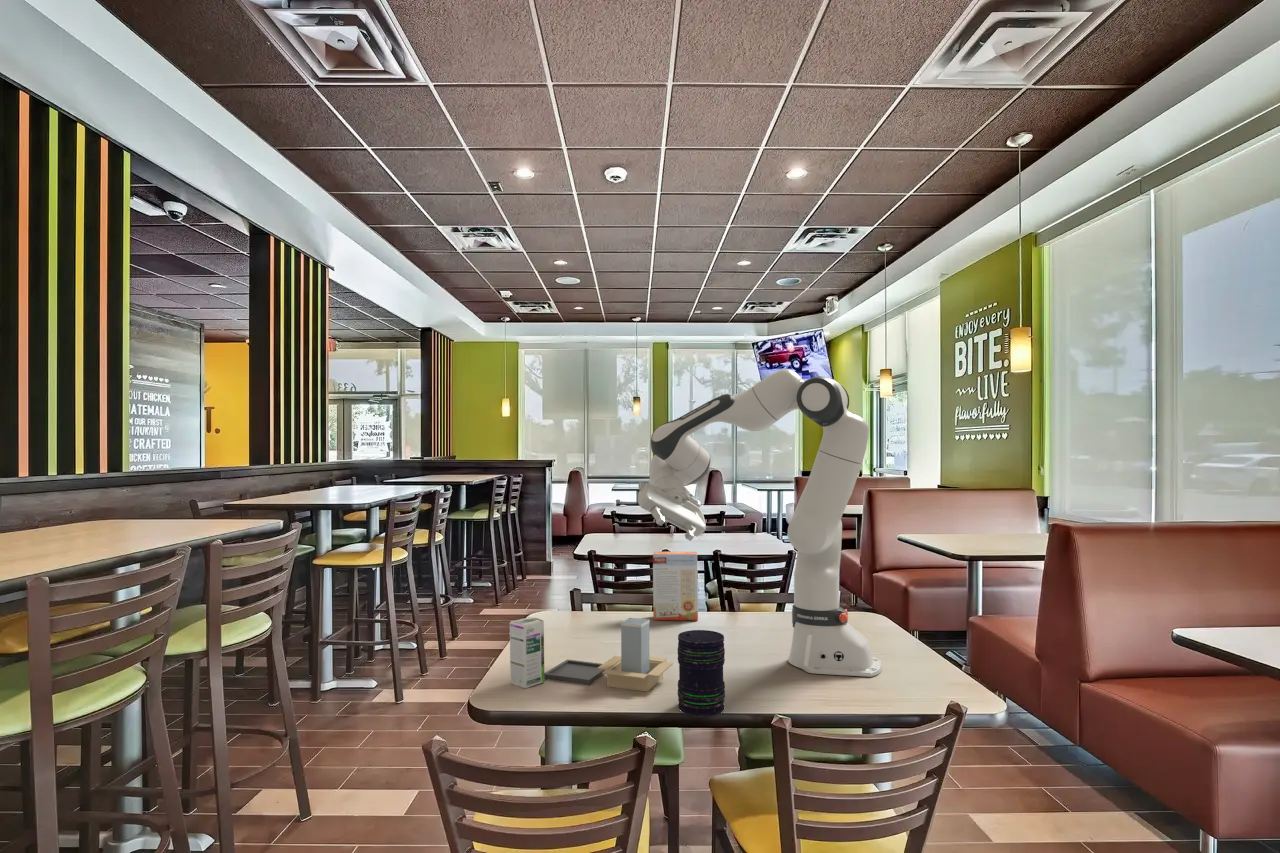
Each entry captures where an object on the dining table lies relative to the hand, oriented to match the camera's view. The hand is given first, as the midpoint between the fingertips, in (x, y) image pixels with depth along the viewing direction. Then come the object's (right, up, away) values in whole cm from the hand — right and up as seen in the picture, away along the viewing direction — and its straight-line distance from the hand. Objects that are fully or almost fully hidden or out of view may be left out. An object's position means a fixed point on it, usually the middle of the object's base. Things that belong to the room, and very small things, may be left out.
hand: (675, 530), depth 180 cm
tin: (-10, -33, -14) cm, 37 cm away
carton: (-10, -33, -14) cm, 37 cm away
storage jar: (+4, -33, -31) cm, 45 cm away
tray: (-24, -33, -9) cm, 42 cm away
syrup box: (-35, -33, -15) cm, 51 cm away
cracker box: (+2, -35, +45) cm, 57 cm away
